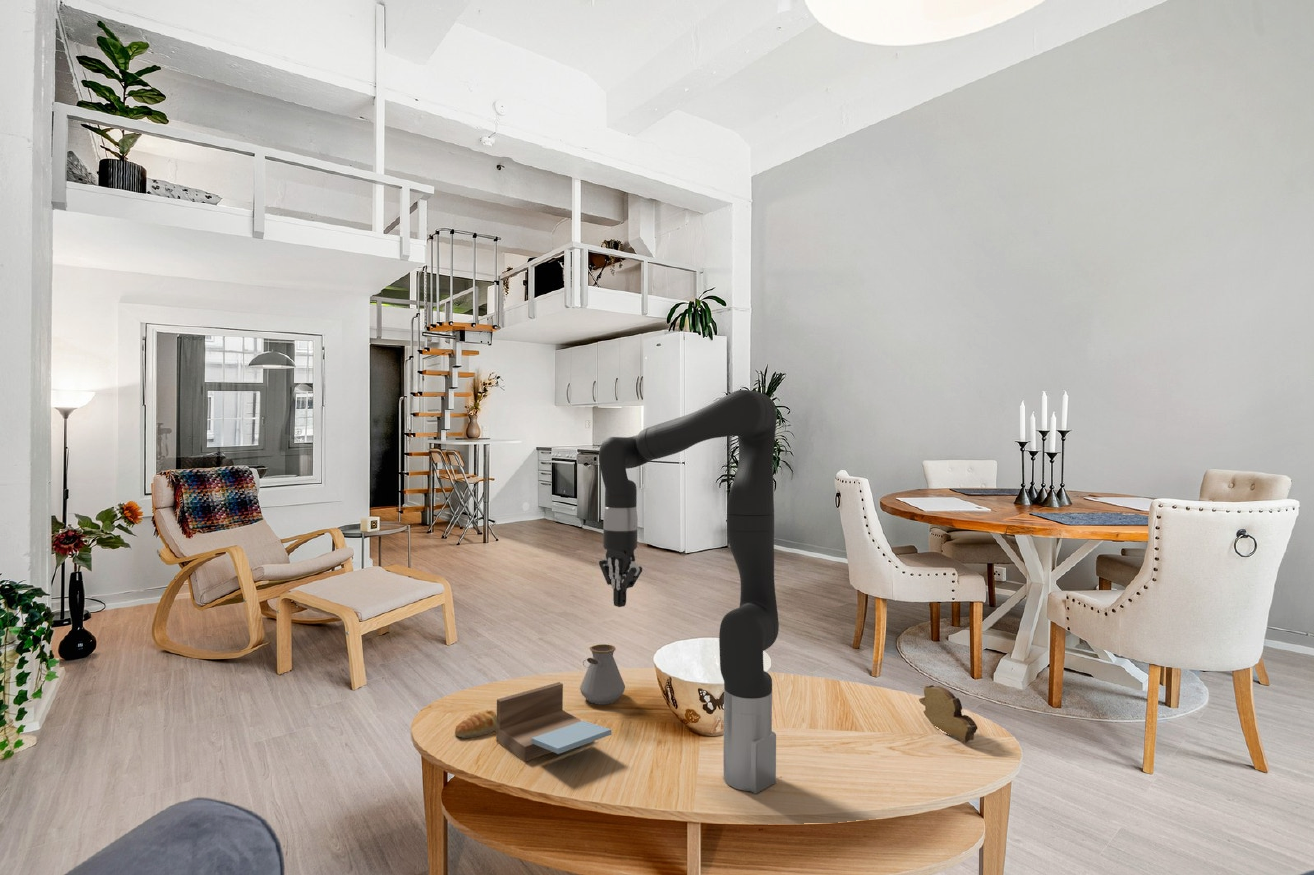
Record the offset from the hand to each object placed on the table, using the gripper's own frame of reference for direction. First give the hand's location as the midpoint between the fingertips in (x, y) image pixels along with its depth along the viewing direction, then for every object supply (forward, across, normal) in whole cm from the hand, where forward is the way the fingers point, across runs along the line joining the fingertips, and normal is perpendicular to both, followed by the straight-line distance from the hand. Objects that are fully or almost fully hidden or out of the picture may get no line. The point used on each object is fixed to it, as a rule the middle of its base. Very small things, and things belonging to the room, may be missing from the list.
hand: (619, 606), depth 141 cm
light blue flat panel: (+26, +4, +13) cm, 29 cm away
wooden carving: (+29, -46, -58) cm, 80 cm away
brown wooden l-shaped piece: (+29, +10, +13) cm, 33 cm away
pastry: (+29, +24, +21) cm, 43 cm away
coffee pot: (+29, +17, -7) cm, 35 cm away
